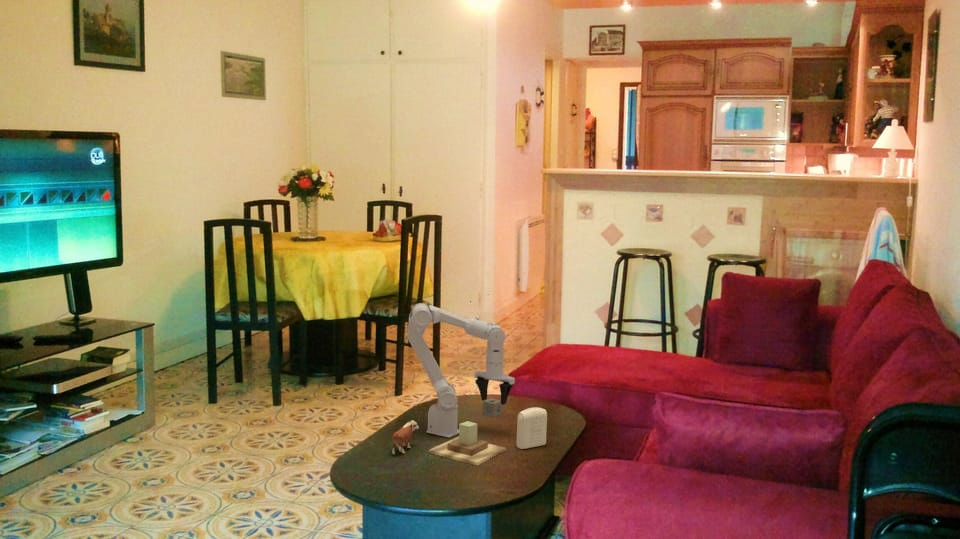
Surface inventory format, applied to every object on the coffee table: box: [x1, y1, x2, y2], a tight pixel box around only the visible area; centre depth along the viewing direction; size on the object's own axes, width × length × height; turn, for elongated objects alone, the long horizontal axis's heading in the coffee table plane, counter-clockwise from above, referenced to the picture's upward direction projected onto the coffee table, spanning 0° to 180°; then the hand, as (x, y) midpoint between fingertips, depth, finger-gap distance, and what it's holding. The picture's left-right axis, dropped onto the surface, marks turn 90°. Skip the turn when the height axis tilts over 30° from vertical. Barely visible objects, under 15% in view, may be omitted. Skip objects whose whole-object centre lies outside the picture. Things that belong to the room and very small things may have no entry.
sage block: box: [458, 420, 478, 446], centre depth 268 cm, size 4×4×6 cm
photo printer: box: [515, 407, 548, 450], centre depth 275 cm, size 10×4×12 cm, turn 123°
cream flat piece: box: [428, 436, 507, 466], centre depth 269 cm, size 18×16×3 cm
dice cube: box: [482, 397, 503, 418], centre depth 308 cm, size 5×5×5 cm
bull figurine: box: [391, 419, 420, 455], centre depth 269 cm, size 4×13×8 cm, turn 155°
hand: (493, 401), depth 287 cm, fingers open, 7 cm apart
